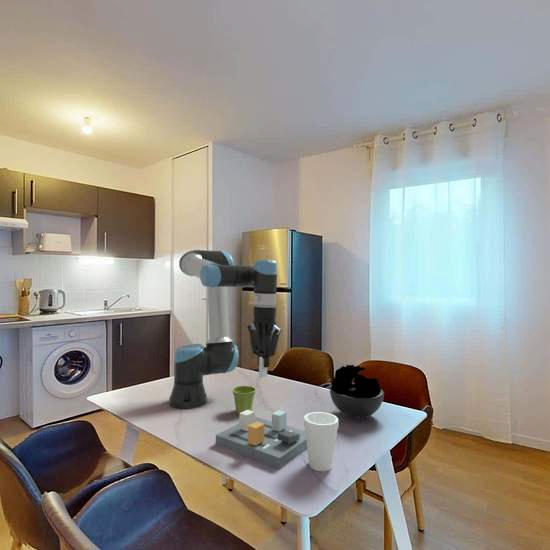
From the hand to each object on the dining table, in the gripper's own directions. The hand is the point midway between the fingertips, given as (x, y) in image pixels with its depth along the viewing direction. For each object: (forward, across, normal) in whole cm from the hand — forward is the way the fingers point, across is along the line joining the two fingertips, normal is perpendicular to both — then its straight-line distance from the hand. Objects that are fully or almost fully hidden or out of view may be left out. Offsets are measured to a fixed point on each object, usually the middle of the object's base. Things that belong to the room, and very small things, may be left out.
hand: (263, 376), depth 120 cm
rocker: (+14, +15, -6) cm, 21 cm away
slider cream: (+16, -1, -6) cm, 17 cm away
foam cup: (+19, +26, -7) cm, 33 cm away
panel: (+19, +6, -6) cm, 21 cm away
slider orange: (+15, +7, -12) cm, 21 cm away
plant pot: (+20, -17, +11) cm, 28 cm away
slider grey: (+15, +7, 0) cm, 17 cm away
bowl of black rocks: (+19, +20, +33) cm, 43 cm away
